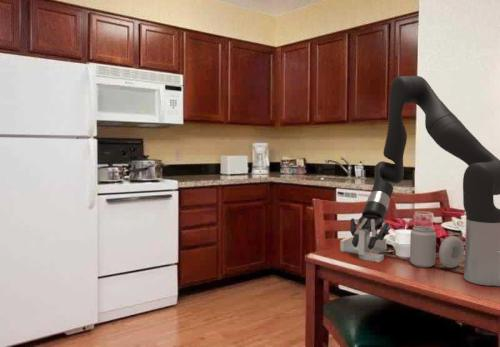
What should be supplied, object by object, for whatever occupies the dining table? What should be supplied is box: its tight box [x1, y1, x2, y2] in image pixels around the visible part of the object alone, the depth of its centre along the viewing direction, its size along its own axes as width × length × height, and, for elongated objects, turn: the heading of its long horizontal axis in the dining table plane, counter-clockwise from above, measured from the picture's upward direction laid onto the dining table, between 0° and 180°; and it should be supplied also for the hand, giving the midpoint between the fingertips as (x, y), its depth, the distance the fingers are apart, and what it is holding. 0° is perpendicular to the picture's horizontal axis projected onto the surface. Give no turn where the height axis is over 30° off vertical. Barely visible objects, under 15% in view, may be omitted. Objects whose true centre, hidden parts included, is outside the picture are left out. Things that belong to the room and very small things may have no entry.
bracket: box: [358, 229, 385, 263], centre depth 141 cm, size 7×4×10 cm, turn 52°
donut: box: [438, 235, 465, 269], centre depth 130 cm, size 10×3×10 cm, turn 121°
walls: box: [339, 235, 388, 253], centre depth 152 cm, size 12×12×4 cm
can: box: [409, 225, 437, 268], centre depth 134 cm, size 8×8×12 cm
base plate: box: [343, 245, 386, 255], centre depth 151 cm, size 11×11×1 cm
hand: (361, 246), depth 141 cm, fingers open, 4 cm apart
